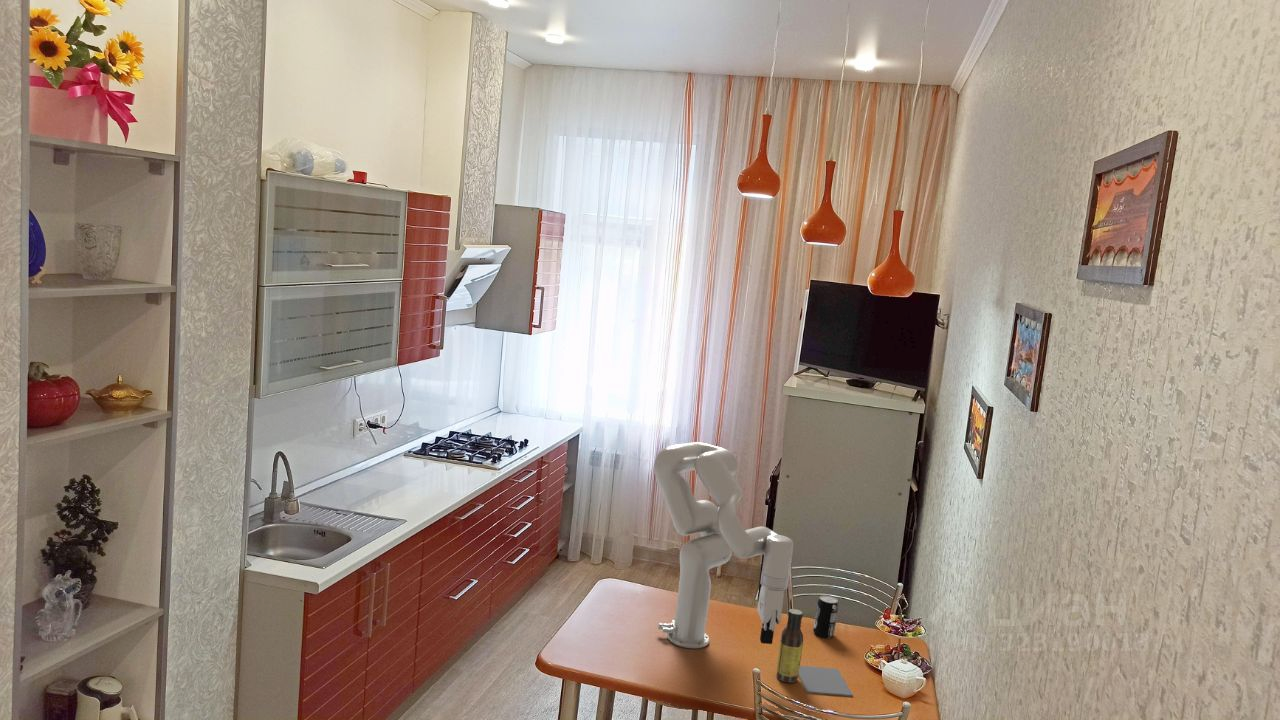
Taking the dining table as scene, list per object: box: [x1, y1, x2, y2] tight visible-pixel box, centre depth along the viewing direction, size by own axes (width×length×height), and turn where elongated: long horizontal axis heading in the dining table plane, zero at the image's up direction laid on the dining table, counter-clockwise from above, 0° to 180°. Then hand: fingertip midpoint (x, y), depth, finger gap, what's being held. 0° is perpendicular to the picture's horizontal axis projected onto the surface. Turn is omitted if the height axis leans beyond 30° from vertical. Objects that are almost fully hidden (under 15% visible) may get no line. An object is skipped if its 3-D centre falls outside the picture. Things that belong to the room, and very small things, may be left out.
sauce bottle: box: [775, 608, 804, 683], centre depth 259 cm, size 6×6×20 cm
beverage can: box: [813, 594, 839, 639], centre depth 292 cm, size 7×7×12 cm
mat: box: [798, 665, 854, 697], centre depth 261 cm, size 13×15×1 cm
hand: (765, 642), depth 258 cm, fingers closed
